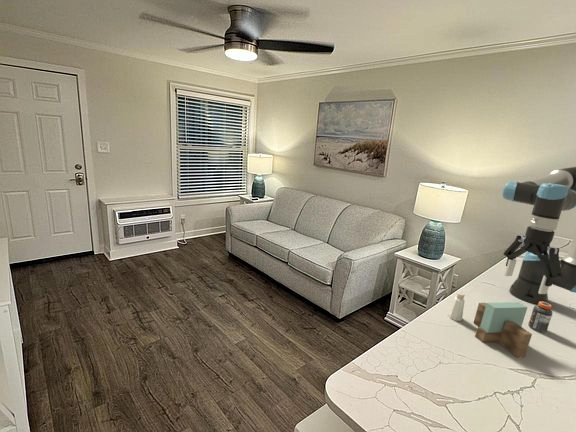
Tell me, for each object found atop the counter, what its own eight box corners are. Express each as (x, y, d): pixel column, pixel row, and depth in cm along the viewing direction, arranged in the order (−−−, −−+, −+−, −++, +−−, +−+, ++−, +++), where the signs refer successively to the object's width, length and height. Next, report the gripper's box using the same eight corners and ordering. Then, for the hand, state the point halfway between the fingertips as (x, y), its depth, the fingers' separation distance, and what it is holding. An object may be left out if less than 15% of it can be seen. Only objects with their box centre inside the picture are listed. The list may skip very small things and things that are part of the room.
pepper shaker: (444, 314, 129) (450, 290, 126) (453, 312, 131) (459, 289, 128) (455, 322, 124) (462, 297, 121) (465, 320, 126) (471, 295, 123)
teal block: (511, 325, 118) (518, 302, 115) (519, 331, 114) (527, 307, 112) (480, 326, 115) (486, 302, 112) (487, 332, 111) (494, 307, 109)
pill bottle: (529, 322, 129) (537, 298, 126) (547, 329, 125) (555, 304, 122) (526, 327, 125) (534, 302, 122) (545, 335, 121) (554, 309, 118)
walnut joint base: (459, 323, 123) (464, 303, 121) (493, 322, 126) (499, 302, 124) (501, 358, 104) (508, 335, 102) (540, 356, 108) (547, 333, 105)
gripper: (501, 218, 118) (488, 269, 123) (570, 240, 94) (549, 302, 100) (518, 218, 120) (503, 269, 125) (589, 240, 96) (568, 301, 101)
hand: (524, 284), depth 112 cm, fingers open, 13 cm apart
